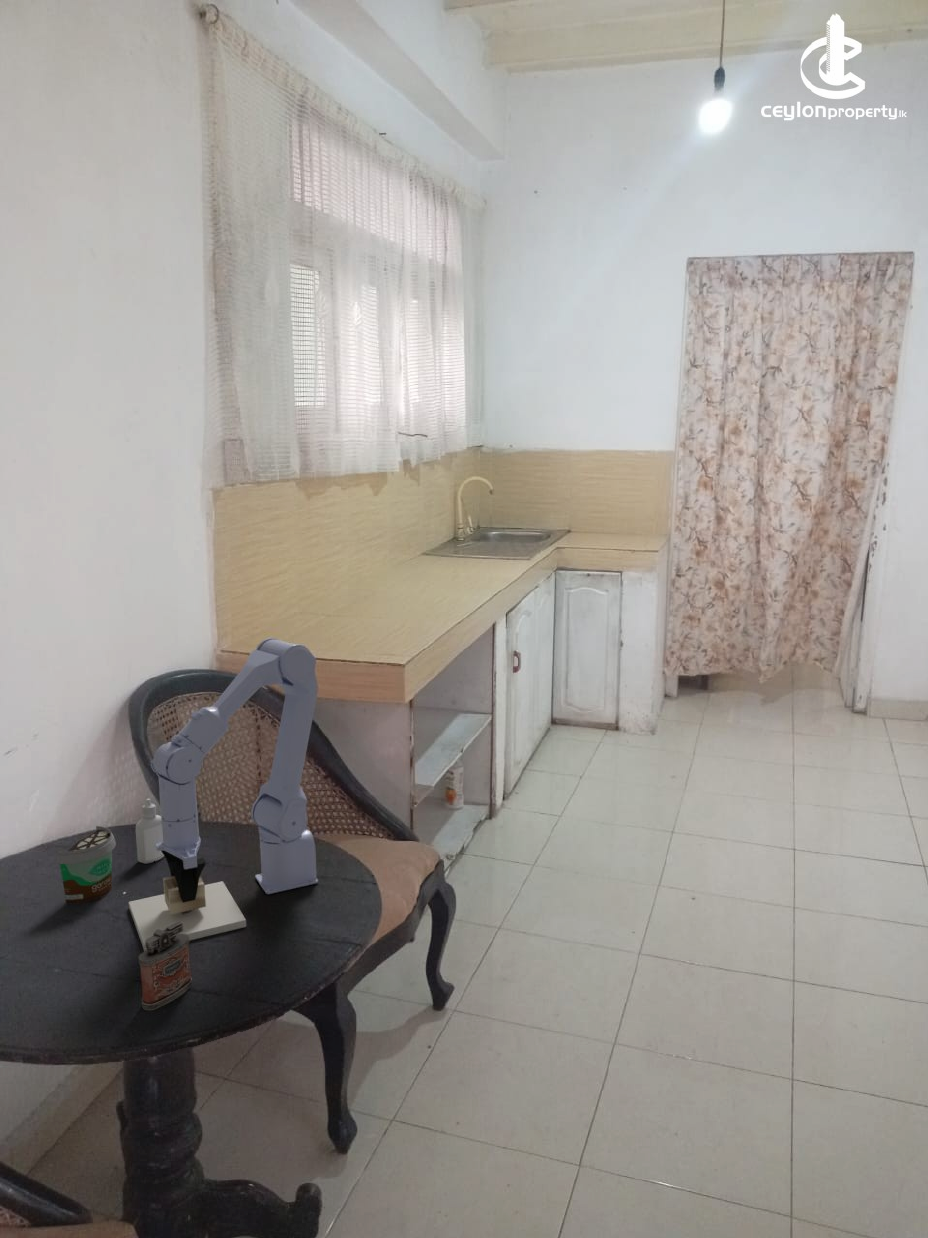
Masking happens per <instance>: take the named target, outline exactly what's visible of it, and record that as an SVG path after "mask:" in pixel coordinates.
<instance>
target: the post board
mask: <svg viewBox="0 0 928 1238" xmlns="http://www.w3.org/2000/svg"><path fill="white" fill-rule="evenodd" d="M204 886H205V901H206V907H202V908H198V909H194V910H189V911H185V912H181V913H176V914H172V915H171V913H170V911H169V909H168V907H167V904H166V902H165V896H164V893H163V894H158V895H154V896H149V897H145V898H141V899H136V900H135V899H134V900H131V901H128V908H129V911H130V915H131V918H132V920H133V922H134V926H135V929H136V932H137V934H138V937H139V939H140V943H141V945H142V949H143V952H144V951H146V950H147V948H146V944H145V940H146V939H148V938H150V937H152V936H153V934H154V932H155V931H156V930H158V929H160V930H162V931H163V930H165V929H166V928H167V927H169V926H171V925H172V924H174V923H176V922H181V923H182V924H183V931H182V932H181V933H179V934H186V935H188V936H189V942H190V941H193V940H197V939H202V938H205V937H210V936H214V935H217V934H218V935H219V934H223V933H226V932H229V931H230V932H231V931H234V930H238V929H242V928H246V927H247V919H246V918H245V916H244V914H243V912H242V911H241V909H240V907H239V906H238V904H237V902H236V901H235V898H233V896H232V894H231V892H230V891H229V890H228V887H227V886H226V884H225V883H224V881H218V882H213V883H208V884H204Z"/></svg>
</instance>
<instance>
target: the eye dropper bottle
mask: <svg viewBox="0 0 928 1238" xmlns="http://www.w3.org/2000/svg"><path fill="white" fill-rule="evenodd" d="M141 809H142V818H141V819H140V820H138V822H137V823H136V825H135V837H136V838H135V843H136V855H137V862H138V863H141V864H145V865H147V864H151V863H154V861H155V862H157V861H160V860H161V859H163V858H164V857H165V856H164V854H163V853H162V852H161V851H157V849H156V843H160V842H162V841H163V834H162V820H161V815H159V814H157V807H156V804H154V803H152V800H151V798H146V800H145V804H144V805H142V808H141Z"/></svg>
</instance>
